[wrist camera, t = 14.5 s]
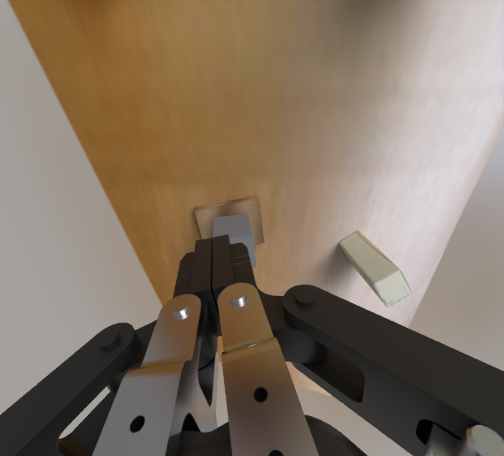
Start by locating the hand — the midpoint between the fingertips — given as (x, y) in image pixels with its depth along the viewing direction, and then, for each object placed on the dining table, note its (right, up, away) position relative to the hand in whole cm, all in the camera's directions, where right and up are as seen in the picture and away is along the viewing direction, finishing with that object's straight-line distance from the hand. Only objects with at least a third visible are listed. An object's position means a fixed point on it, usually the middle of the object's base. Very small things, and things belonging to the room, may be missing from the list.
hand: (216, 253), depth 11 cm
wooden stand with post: (-2, +2, +29) cm, 30 cm away
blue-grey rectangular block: (-1, +1, +27) cm, 27 cm away
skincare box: (+21, -2, +35) cm, 41 cm away
